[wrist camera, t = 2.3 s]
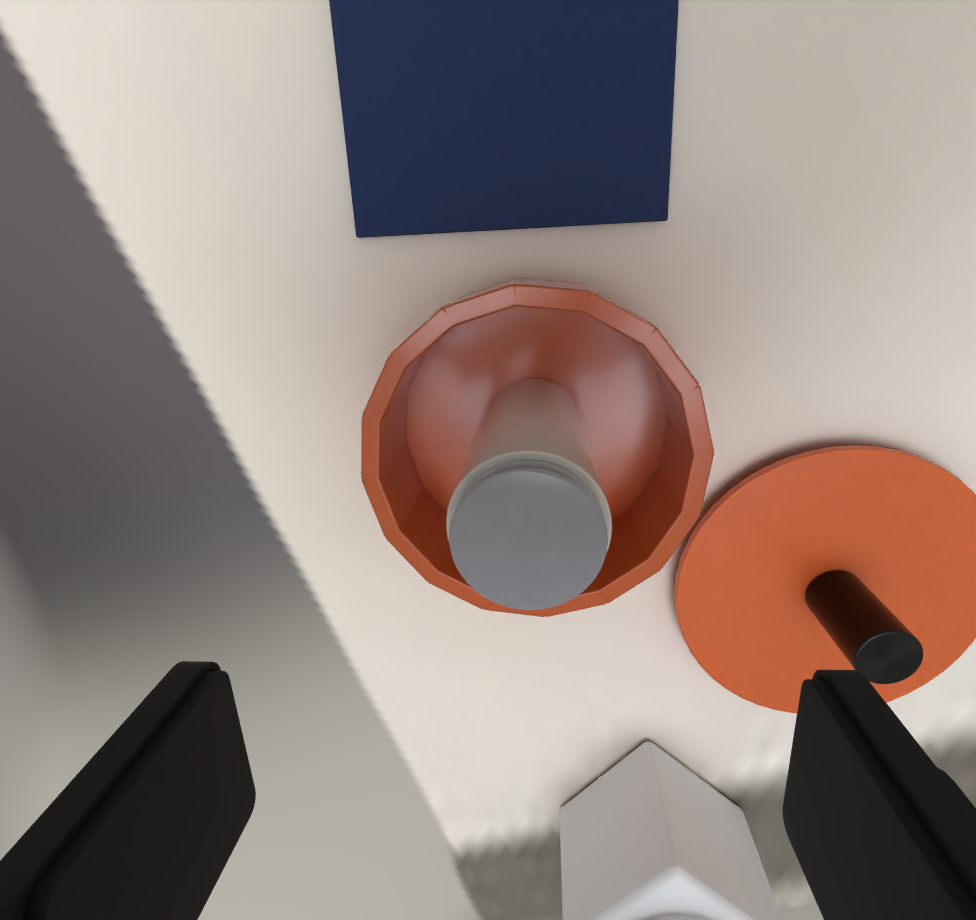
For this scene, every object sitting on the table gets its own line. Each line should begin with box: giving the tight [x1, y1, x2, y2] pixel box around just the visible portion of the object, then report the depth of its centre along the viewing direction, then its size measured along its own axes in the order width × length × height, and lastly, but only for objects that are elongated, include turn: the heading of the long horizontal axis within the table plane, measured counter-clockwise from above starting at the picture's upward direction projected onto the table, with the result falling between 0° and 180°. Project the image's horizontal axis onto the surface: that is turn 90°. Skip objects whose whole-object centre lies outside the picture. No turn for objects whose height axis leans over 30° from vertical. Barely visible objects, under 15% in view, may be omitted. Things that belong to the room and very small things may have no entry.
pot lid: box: [675, 445, 976, 713], centre depth 24 cm, size 13×13×6 cm
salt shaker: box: [446, 379, 612, 610], centre depth 20 cm, size 5×5×10 cm
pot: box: [361, 278, 714, 617], centre depth 23 cm, size 12×12×5 cm
